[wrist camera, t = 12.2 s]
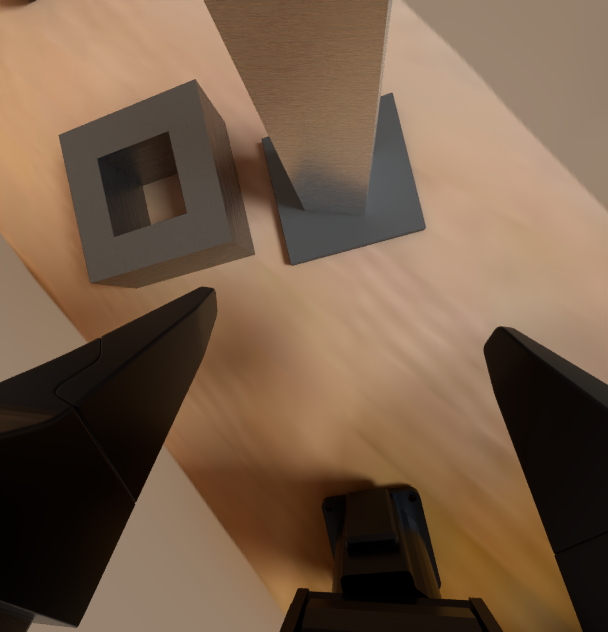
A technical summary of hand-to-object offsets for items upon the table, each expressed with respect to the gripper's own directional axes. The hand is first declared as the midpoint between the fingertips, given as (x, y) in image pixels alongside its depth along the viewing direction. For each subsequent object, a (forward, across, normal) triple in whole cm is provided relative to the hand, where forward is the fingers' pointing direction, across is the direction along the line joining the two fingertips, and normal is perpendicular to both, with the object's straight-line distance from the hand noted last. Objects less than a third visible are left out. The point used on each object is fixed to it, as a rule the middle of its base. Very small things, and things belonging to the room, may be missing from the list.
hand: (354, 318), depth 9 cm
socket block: (+14, +12, +2) cm, 19 cm away
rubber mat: (+14, 0, -1) cm, 14 cm away
